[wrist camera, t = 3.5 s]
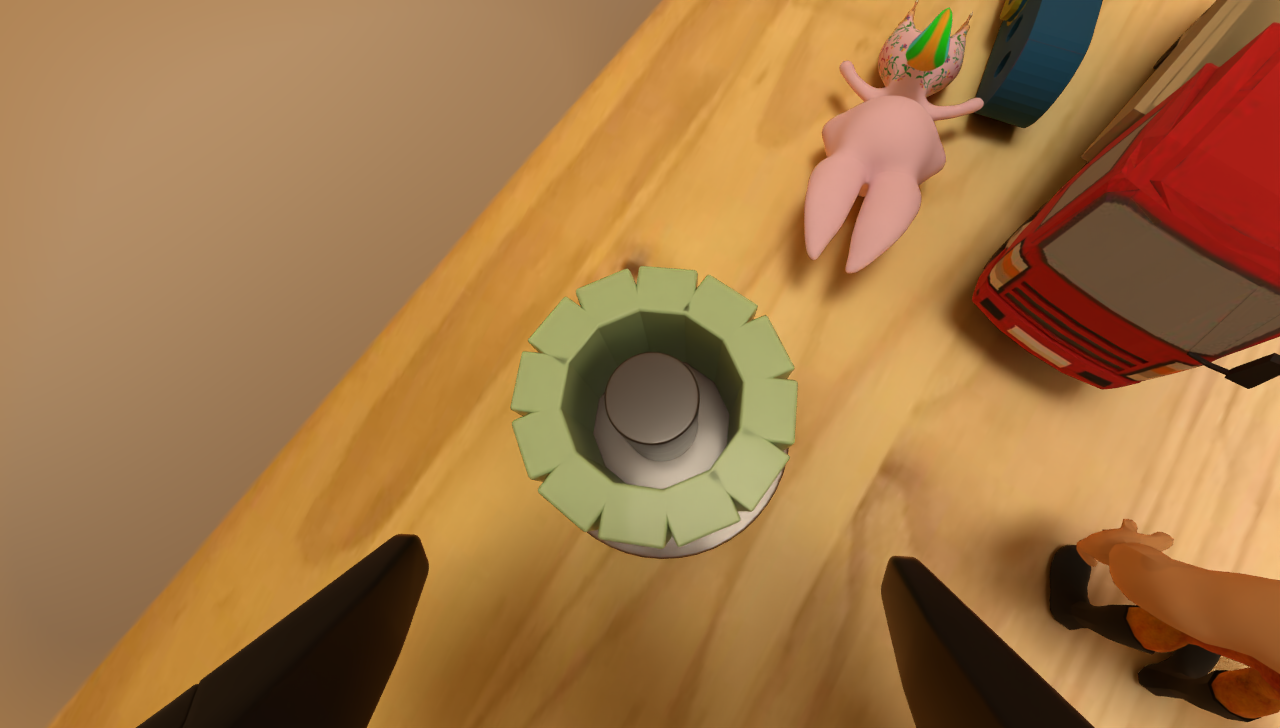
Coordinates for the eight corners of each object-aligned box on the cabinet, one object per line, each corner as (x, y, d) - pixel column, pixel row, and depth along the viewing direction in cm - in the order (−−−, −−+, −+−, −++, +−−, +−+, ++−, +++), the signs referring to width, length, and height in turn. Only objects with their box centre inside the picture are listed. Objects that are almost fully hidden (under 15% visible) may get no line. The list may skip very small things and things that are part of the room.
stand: (756, 559, 19) (815, 605, 10) (562, 529, 20) (456, 546, 11) (770, 367, 21) (829, 260, 12) (593, 349, 22) (526, 238, 13)
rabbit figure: (852, 54, 26) (744, 262, 21) (904, -86, 21) (777, 145, 15) (974, 88, 25) (893, 320, 19) (1064, -52, 19) (986, 215, 14)
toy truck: (927, 316, 20) (1133, 146, 11) (1192, 12, 23) (1540, -332, 14) (1084, 428, 19) (1497, 342, 9) (1351, 84, 22) (1878, -255, 12)
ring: (761, 552, 14) (788, 569, 10) (539, 518, 14) (484, 521, 11) (776, 335, 15) (803, 277, 12) (576, 316, 16) (541, 256, 12)
